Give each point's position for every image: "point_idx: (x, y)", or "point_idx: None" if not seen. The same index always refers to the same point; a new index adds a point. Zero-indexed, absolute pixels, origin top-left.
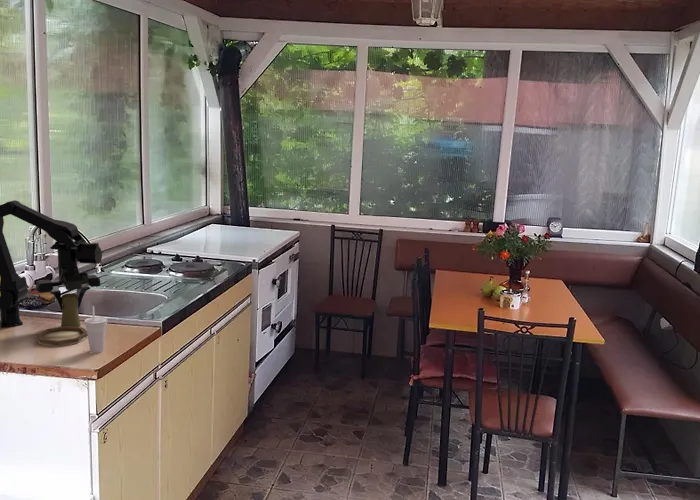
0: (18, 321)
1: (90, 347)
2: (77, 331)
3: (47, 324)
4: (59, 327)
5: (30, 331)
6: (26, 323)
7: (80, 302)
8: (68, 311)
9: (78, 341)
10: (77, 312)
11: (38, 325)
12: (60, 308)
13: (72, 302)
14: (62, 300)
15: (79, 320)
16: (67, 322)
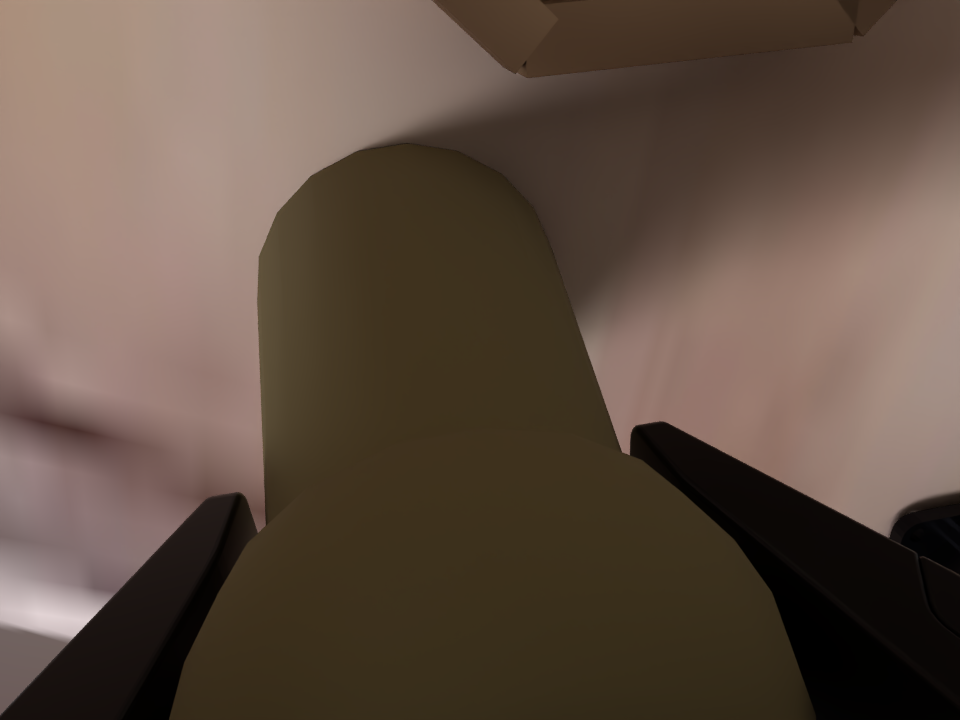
0: (939, 561)
1: None
2: None
3: None
4: (660, 36)
5: (939, 251)
6: None
7: (122, 599)
8: (506, 319)
9: None
10: (274, 375)
11: (771, 451)
12: (690, 452)
13: (416, 465)
14: (774, 609)
15: (260, 306)
16: (492, 209)
